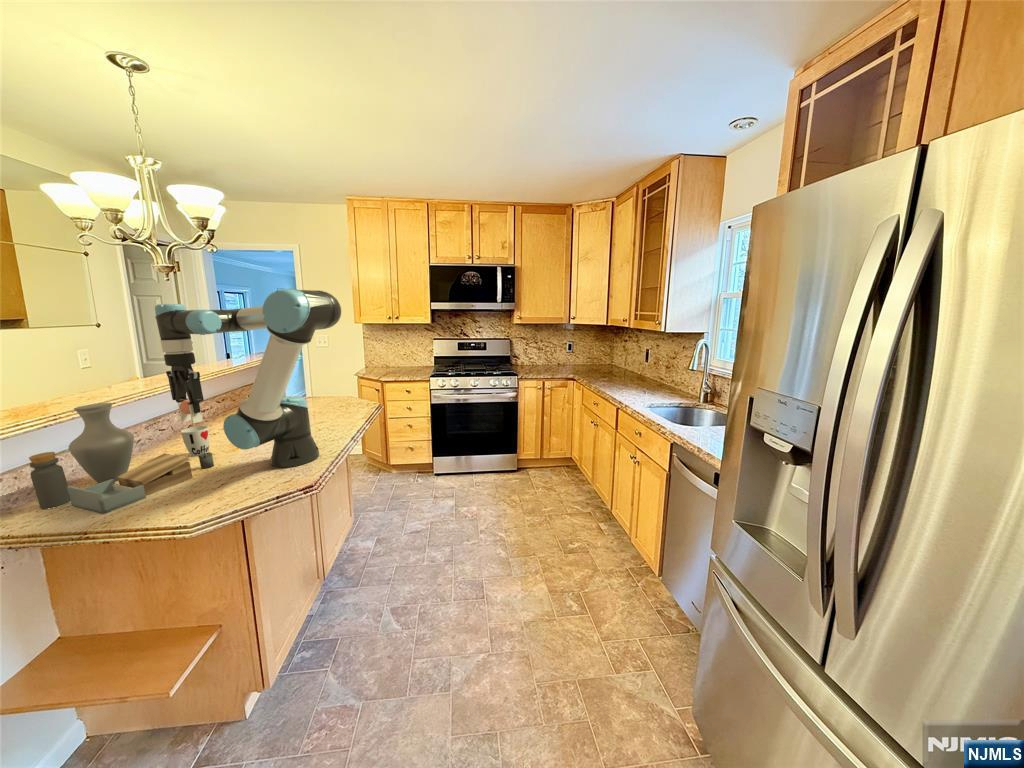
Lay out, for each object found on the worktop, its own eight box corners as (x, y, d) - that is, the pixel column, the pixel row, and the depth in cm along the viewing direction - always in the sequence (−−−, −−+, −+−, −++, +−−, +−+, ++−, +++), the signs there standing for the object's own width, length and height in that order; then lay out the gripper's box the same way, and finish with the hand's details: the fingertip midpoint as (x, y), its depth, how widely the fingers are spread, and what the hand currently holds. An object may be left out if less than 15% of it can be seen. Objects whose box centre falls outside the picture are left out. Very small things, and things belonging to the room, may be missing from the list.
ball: (203, 412, 129) (201, 398, 128) (186, 416, 124) (184, 401, 123) (194, 411, 131) (191, 397, 130) (177, 415, 126) (174, 400, 125)
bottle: (71, 503, 109) (57, 454, 106) (39, 511, 105) (24, 460, 102) (71, 497, 113) (58, 449, 110) (41, 505, 109) (26, 455, 106)
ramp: (193, 477, 124) (189, 456, 123) (144, 496, 112) (139, 473, 111) (169, 473, 128) (165, 453, 126) (120, 491, 116) (114, 468, 115)
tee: (216, 465, 134) (214, 452, 133) (205, 469, 130) (203, 456, 129) (209, 464, 135) (207, 451, 134) (198, 468, 131) (195, 455, 131)
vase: (148, 475, 127) (131, 402, 122) (85, 493, 115) (63, 414, 110) (134, 467, 134) (118, 398, 130) (74, 483, 123) (53, 408, 118)
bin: (146, 497, 111) (141, 478, 110) (103, 514, 102) (97, 493, 101) (115, 491, 116) (110, 472, 115) (72, 506, 107) (66, 486, 106)
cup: (189, 459, 140) (184, 433, 138) (183, 455, 145) (178, 429, 143) (216, 452, 146) (211, 427, 144) (209, 448, 151) (204, 424, 149)
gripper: (209, 352, 124) (221, 420, 128) (175, 350, 130) (188, 416, 135) (182, 354, 117) (196, 427, 121) (148, 353, 123) (162, 422, 128)
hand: (192, 421), depth 128 cm, fingers closed on ball, 5 cm apart
